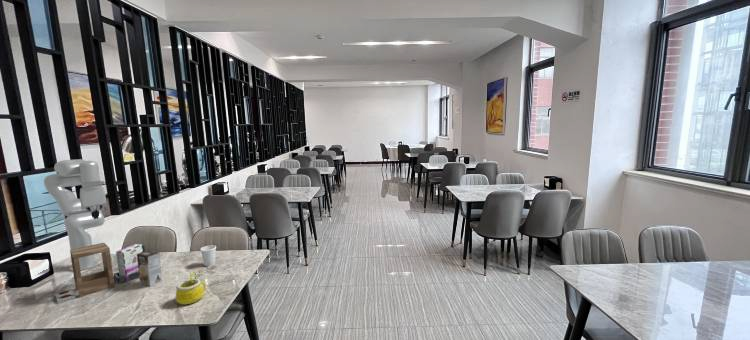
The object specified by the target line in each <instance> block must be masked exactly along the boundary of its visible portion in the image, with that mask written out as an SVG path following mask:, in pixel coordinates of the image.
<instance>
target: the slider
mask: <svg viewBox="0 0 750 340" xmlns="http://www.w3.org/2000/svg"><path fill="white" fill-rule="evenodd" d="M142 248H143V252H144V251H146V248H145V245H144V244H142ZM113 278H114V281H115V282H116V283H117V284H122V283H125V281H126V276H121V277H120V276H119V271H118V272H115V273H114V272H113ZM138 278H139V279H140V277H139V271H138V272H135V273H131V274H129V275H128V280H130V281H132V280H134V279H138Z"/></svg>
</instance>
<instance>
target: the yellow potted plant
mask: <svg viewBox="0 0 750 340" xmlns="http://www.w3.org/2000/svg"><path fill="white" fill-rule="evenodd" d="M200 273H201V269H200V270H198V274H197V273H196V271H194V270H193V271H192V272H191V273H190V278H189V279H185V280H184V281H181V282H180V283H179V284H177V285H176V290H175V301H176V303H178V304H180V305H189V304H193V303H196V302H198V301H199V300H201V299H202V298H203V296H204V293H205V291H206V288H207V287H206V283H205V282H204V281H201V280H200V279H199V275H200ZM202 284H203V286H202Z"/></svg>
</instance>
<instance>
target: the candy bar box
mask: <svg viewBox="0 0 750 340" xmlns="http://www.w3.org/2000/svg"><path fill="white" fill-rule="evenodd" d="M142 245H143V244H141V243H140V244H139V243H134V244H132V245H129V246H126V247H124V248H122V249H119V250H117V251H116V252H115V255H116V262H117V268H118V272H119V276H120V277H121V276H126V281H125V282H126V283H128V282H130V281H131V280H128V275H129V274H131V273H135V272H138V271H139V268H138V260H137V254H138V253H141V252H143V248H142ZM125 282H124V283H125Z"/></svg>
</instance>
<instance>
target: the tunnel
mask: <svg viewBox="0 0 750 340" xmlns="http://www.w3.org/2000/svg"><path fill="white" fill-rule="evenodd" d="M97 254H101V258H102V259H101V260H102V266H103V270H100V271H97V272H94V273H93V272H92V273H90V274H86V275H82V273H81V272H82V270H80V264H79V258H81V257H85V256H90V255H94V256H95V255H97ZM69 255H70V259H71V266H72V268H73V271H72V274H73V280H74V287H75V291H77V292H78V298H83V297H85V296H89V295H91V294H95V293H99V292H101V291H105V290H108V289H113V288H115V279H114V271H113V266H112V265H113V264H112V258H111V257H112V256H111V250H110V246H109V245H107V244H106V243H105V242H101V243H96V244H92V245H91V246H86V247H81V248H77V249H72V250H71V249H69Z"/></svg>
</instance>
